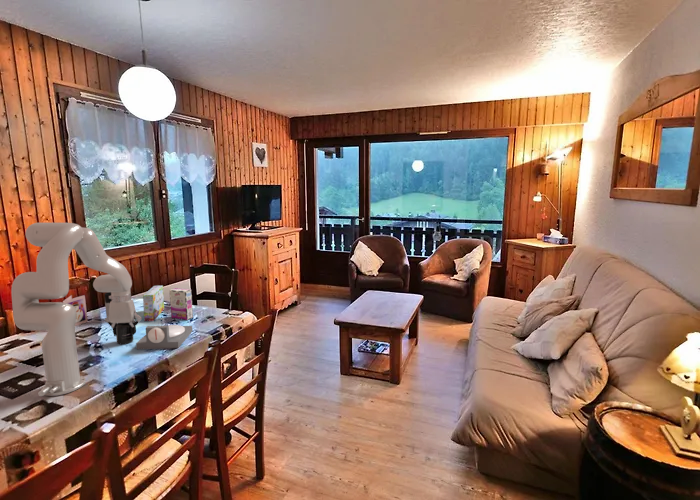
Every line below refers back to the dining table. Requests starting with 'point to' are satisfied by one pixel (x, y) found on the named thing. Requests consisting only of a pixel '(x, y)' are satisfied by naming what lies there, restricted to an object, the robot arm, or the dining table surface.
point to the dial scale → (164, 337)
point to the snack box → (153, 303)
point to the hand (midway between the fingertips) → (124, 334)
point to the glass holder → (107, 302)
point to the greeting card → (78, 308)
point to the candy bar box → (181, 304)
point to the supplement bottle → (123, 333)
